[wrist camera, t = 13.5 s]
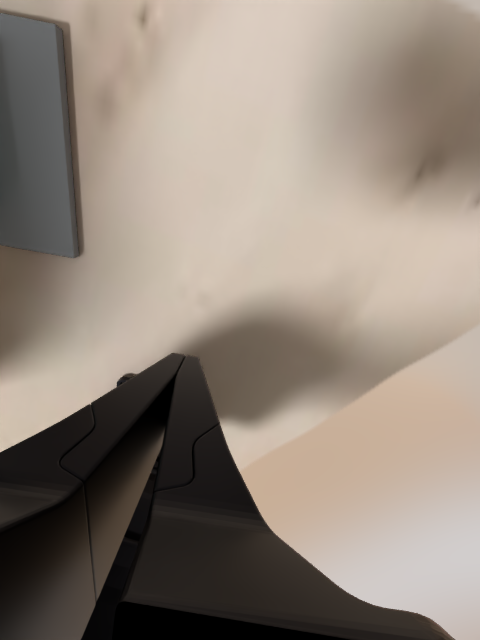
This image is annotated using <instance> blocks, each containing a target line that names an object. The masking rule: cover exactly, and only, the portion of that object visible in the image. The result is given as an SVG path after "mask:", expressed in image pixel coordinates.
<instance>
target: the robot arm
mask: <svg viewBox="0 0 480 640" xmlns="http://www.w3.org/2000/svg"><path fill="white" fill-rule="evenodd" d="M122 382H123V383H122ZM0 640H455V639H454V638H452V637H451V636H450V635H449V634H448V633H447V632H446V631H445V630H444V629H443V628H442V627H441V626H439V625H438V624H437V623H435V622H434V621H433V620H431V619H430V618H427V617H425V616H422V615H420V614H418V613H413V612H409V611H403V610H395V609H388V608H383V607H379V606H375V605H372V604H370V603H367V602H365V601H362V600H360V599H358V598H356V597H354V596H353V595H351V594H349V593H347V592H346V591H344V590H343V589H342V588H340V587H339V586H337V585H336V584H335V583H334V582H332V581H331V580H330V579H329V578H328V577H326V576H325V575H324V574H323V573H322V572H320V571H319V570H318V569H317V568H315V567H314V566H313V565H312V564H311V563H309V562H308V561H307V560H306V559H305V558H303V557H302V556H301V555H300V554H299V553H297V552H296V551H295V550H294V549H292V548H291V547H290V546H289V545H287V544H286V543H285V542H284V541H283V540H281V539H280V538H279V537H278V536H277V535H276V534H275V533H274V532H273V531H272V530H271V529H270V528H269V526H268V525H267V523H266V522H265V521H264V519H263V517H262V516H261V514H260V512H259V510H258V508H257V506H256V504H255V502H254V500H253V498H252V496H251V494H250V492H249V490H248V488H247V486H246V484H245V482H244V480H243V478H242V476H241V474H240V472H239V470H238V468H237V466H236V464H235V462H234V459H233V457H232V455H231V453H230V451H229V448H228V445H227V443H226V440H225V437H224V434H223V431H222V428H221V426H220V422H219V419H218V416H217V413H216V410H215V407H214V403H213V400H212V397H211V394H210V391H209V388H208V385H207V381H206V378H205V375H204V372H203V369H202V366H201V363H200V359H199V357H196V356H190V355H187V356H186V357H185V355H184V354H178V353H172V354H170V355H168V356H167V357H165V358H163V359H162V360H160V361H159V362H157V363H155V364H154V365H152V366H150V367H149V368H147V369H146V370H144V371H142V372H141V373H139V374H137V375H136V376H134V377H133V378H127V377H121V378H120V379H119V380H118V382H117V387H116V388H115V389H113V390H111V391H110V392H108V393H107V394H105V395H103V396H102V397H100V398H98V399H97V400H95V401H94V402H92V403H91V405H90V404H89V405H87V406H85V407H84V408H82V409H80V410H79V411H77V412H75V413H74V414H72V415H70V416H69V417H67V418H65V419H63V420H62V421H60V422H58V423H56V424H54V425H53V426H51V427H49V428H47V429H45V430H43V431H41V432H39V433H37V434H36V435H34V436H32V437H30V438H28V439H26V440H24V441H22V442H20V443H18V444H16V445H14V446H12V447H10V448H8V449H6V450H4V451H2V452H0Z"/></svg>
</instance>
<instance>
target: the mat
mask: <svg viewBox="0 0 480 640" xmlns="http://www.w3.org/2000/svg"><path fill="white" fill-rule="evenodd" d="M0 245H2V246H8V247H13V248H19V249H25V250H30V251H36V252H42V253H47V254H53V255H59V256H64V257H70V258H76V257H78V256H79V251H78V238H77V224H76V211H75V197H74V184H73V170H72V156H71V143H70V129H69V116H68V102H67V89H66V75H65V62H64V48H63V35H62V29H61V28H59V27H58V26H57V25H56V24H52V23H47V22H42V21H38V20H33V19H28V18H23V17H18V16H13V15H8V14H3V13H0Z"/></svg>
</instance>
